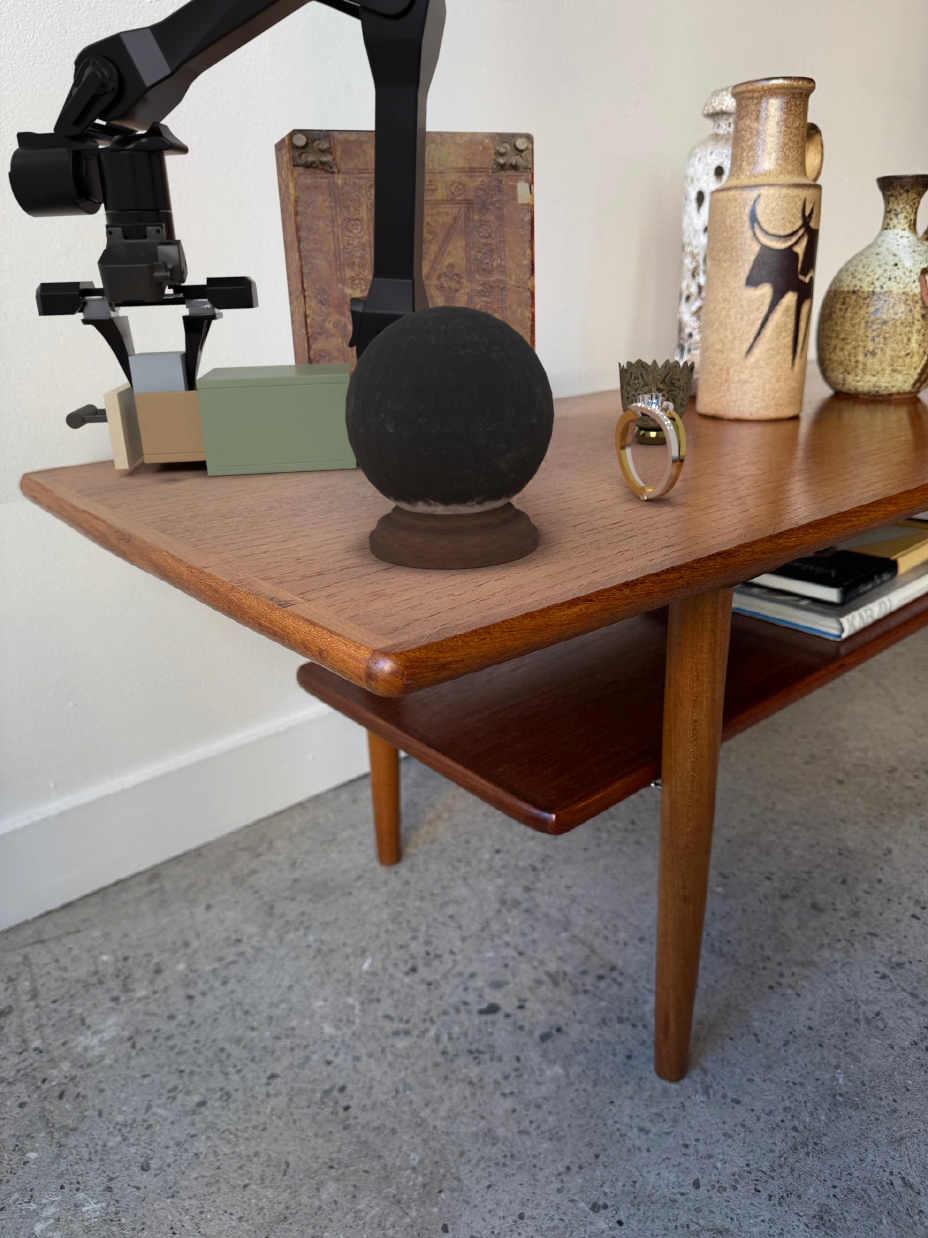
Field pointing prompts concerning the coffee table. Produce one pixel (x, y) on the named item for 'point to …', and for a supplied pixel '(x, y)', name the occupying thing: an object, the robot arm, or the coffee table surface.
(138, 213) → the robot arm
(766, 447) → the coffee table surface
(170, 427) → the drawer
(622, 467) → the ring
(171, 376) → the block
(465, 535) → the black ball on stand
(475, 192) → the book
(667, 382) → the cup
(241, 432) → the cabinet
